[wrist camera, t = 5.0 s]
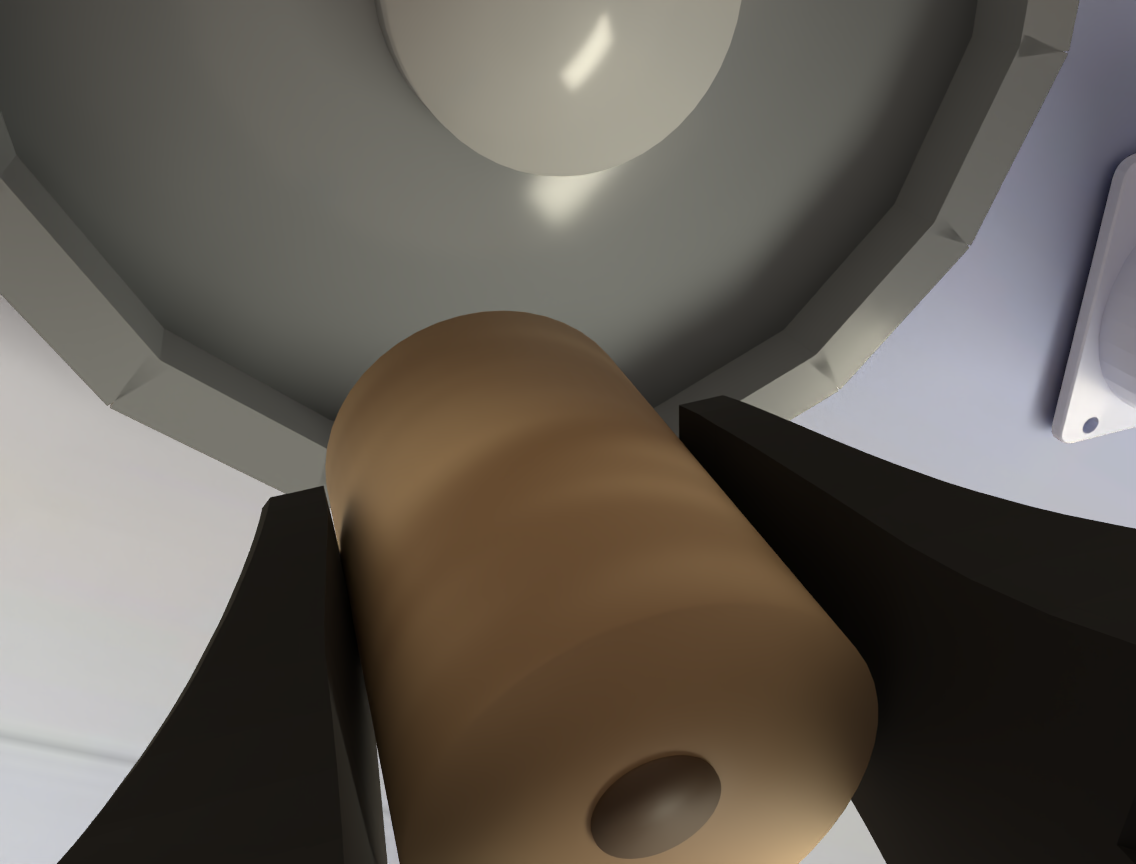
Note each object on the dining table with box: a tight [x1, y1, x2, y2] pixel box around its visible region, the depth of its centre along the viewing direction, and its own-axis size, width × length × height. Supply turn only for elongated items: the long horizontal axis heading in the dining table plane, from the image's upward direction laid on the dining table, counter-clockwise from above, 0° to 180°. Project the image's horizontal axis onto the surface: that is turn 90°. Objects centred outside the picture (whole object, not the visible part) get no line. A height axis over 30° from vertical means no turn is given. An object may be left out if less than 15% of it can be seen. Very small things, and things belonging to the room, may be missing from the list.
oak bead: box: [325, 311, 878, 864], centre depth 11 cm, size 4×4×6 cm
